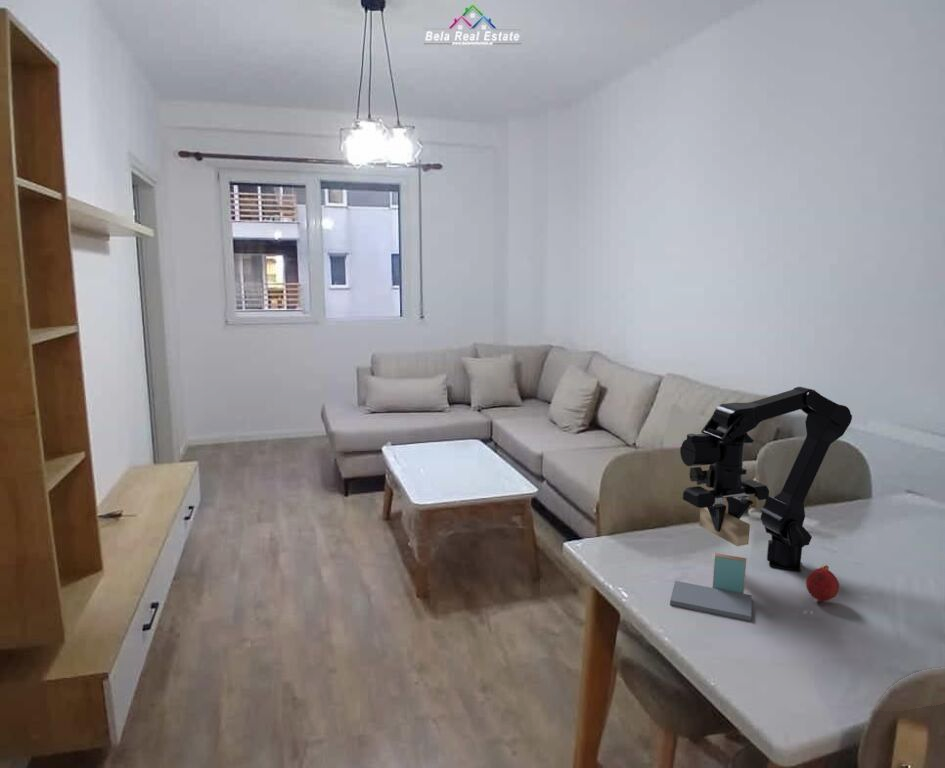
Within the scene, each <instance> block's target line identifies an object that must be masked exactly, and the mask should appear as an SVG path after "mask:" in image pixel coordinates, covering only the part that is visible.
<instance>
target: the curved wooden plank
mask: <svg viewBox="0 0 945 768" xmlns="http://www.w3.org/2000/svg"><path fill="white" fill-rule="evenodd" d="M699 509H700V510H699V511H700V512H699V523H698V525H699V527H702V528H703V529H704V530H706V531H709V532H710V533H712V534H714V535H716V536H718V537H719V538H722V539H723V540H725V541H726V542H729V543H730V544H732V545H734V546H736V547H740V546H748V545H749V543H750V542H749V541H750V529H751V524H750V523H748V522H746V521H744V520H742V519H741V518H740V519H738V518H736V517H734V516H732V515H730V514H728V512H726V511H725V515H724V519H723V523H722V527H721V529H720V531H719V532H717V531H716V530H715V528H714V525H713V522H712V519H711V515H710V513H709V510H708V508H707V507H705V508H699Z"/></svg>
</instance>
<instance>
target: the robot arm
mask: <svg viewBox="0 0 945 768" xmlns="http://www.w3.org/2000/svg"><path fill="white" fill-rule="evenodd" d="M799 410H800V411H801V412H803V413H804V414H806V415H807V416H806V418H805V430H806V431H805V432H806V436H805V439H804V441H803V443H802V445H801V448H800V450H799V452H798V454H797V456H796V459H795V461H794V463H793V465H792V467H791V470H790V472H789V474H788V476H787V478H786V480H785V482H784V484H783V487H782V489H781V491H780V492H779V493H778V494H776V495H775V496H774V497H773V496H770V490H769V488H768V485H765V484H763V483H761V482H758V481H756V480H755V479H754V480H753V479H747V480H742V476H743V475H747V469H746V468H744V467H743V462H744V451H745V450H744V448H745V444H753V443H754V439H753V438H752V437H751V436H750V435H749V434H748V432H751V431H752V430H754V429H756V428H757V426H758V425H759V424H760V423H762V422H765V421H767V420H771V419H774V418H777V417H780V416H783V415H786V414H790V413H792V412H795V411H799ZM851 413H852V412H851V410H850V408H849V407H848V406H846V405H843V404H839V403H836V401H833V400H831V399H829V398H827V397H825V396H823V395H821V393H819V392H818V391H816V389H812V388H809V387H808V388H807V387H803V386H797V387H794V388H792V389H790V390H786V391H783V392H781V393H777V394H774V395H771V396H767V397H764V398H760V399H757V400H754V401H751V402H750V401H749V402H729V403H728V402H727V403H722V404H719V405H717V406H716V407H715V410H714V411H713V413H712V416H711V417H710V418H709V420H708V421H707V422H706V424H705V425H704V427H703V428H702V429H701V433H698V434H696V433H688V434H687V435H686V439H684V440H683V442H682V444H681V446H680V450H679V451H680V452H679V453H680V457H681V460H682V462H683V464H684V465H685V466H686V467H690V468H689V480H690V481H691V482H692V483H694V482H696V485H697V486H689V487H686V488H685V489H683V492H682V500H683V501H684V502H687V503H689V505H692V506H694V507H696V508H699V509H700V508H705V507H707V508H708V510H709V513H710V515H711V519H712V522H713V525H714V528H715V530H716V531H717V532H719V531H720V529H721V527H722V523H723V519H724V515H725V512H726V509H727V513H728V514H730V515H732V516H734V517H736V518H738V519H740V520H741V517H742V516H743V515H744V514H745V512H747V511H746V510H747V509H748V508H749V507H750V506H751V505H753V504H754V501H752V500H751V499H750V496H749V495H754V497H755V498H756V500H758V501H763V500H765V502H764V505H763V506H762V508H761V509H760V512H761V515H760V520H761V524H762V525H763V527H764V529H765V533H767V534H769V535H770V536H771V537H770V538H771V539H768V541H767V551H766V552H767V553H766V560H767V561H768V565H769V567H771V568H777V569H783V570H788V571H793V572H794V571H795V572H802V566H801V562H802V554H803V553H802V552H803V548H804V547H805V546H809V545H810V543H811V540H812V537H813V536H812V535H811V534H810V533H809V532H808V530H807V529H805V527H804V526H803V524H804V523H805V522H804V521H805V518H806V512H805V511H806V510H805V504H804V502H805V500H806V499H807V496H808V494H809V491H810V489H811V487H812V484H813V482H814V480H815V478H816V476H817V474H818V472H819V469H820V468H821V465H822V463H823V461H824V459H825V458H826V457H825V456H826V454H827V452H828V450H829V448H830V446H831V445H832V444H833V443H834V442H835V441H837V440H838V439H840V438H842V436H844V434H845V432H846V431H847V429H848V428H849V426H850V424H851V423H852V420H853V415H852V414H851ZM718 429H719V430H718ZM720 430H722V431H720ZM723 431H724V432H723ZM701 466H709V467H708V469H704V470H703V468H702V467H701ZM700 485H705V486H706V487H707V488H709V489H710V488H711V489H712V490H711V489H710V490H708V489H706V488H704V487H702V486H700ZM724 498H725V500H726V502H727V505H725V504H723V499H724Z"/></svg>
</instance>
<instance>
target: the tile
mask: <svg viewBox="0 0 945 768" xmlns="http://www.w3.org/2000/svg"><path fill="white" fill-rule="evenodd" d="M713 565H714V566H713V579H712V588H717V589H722V590H727V591H732V592H738V593H743V594H745V593H744V592H745V580H746V579H745V578H746V569H747V567H746V566H747V558H746V557H741V556H735V555H729V554H724V553H723V554H722V553H717V552H715V553H714V563H713Z"/></svg>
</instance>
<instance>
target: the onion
mask: <svg viewBox="0 0 945 768" xmlns="http://www.w3.org/2000/svg"><path fill="white" fill-rule="evenodd" d="M829 569H830V568H829V566H828V565H827V564H822V565H821V566H820V567H819V568H816V569H814V570H812V571H810V573H809V574H808V575H807V577H806V580H805V586H806V589H807V591H808V593H809V594H810V595H811V596H812V597H813V599H816V600H817V601H818V602H819V603H824V602H827V601H829V600H832V599H834V598H836V596H837V595H838V593H839V589H840V582H839V580H838V578H837V577H836V575H835V574H834V573H833V572H832V571H830V570H829Z"/></svg>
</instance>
